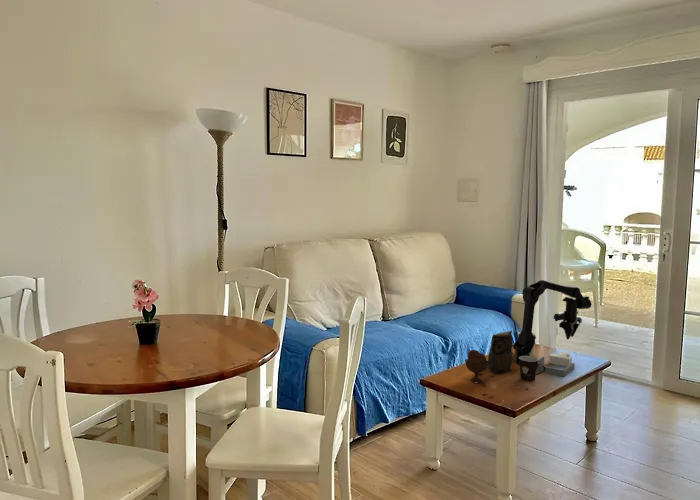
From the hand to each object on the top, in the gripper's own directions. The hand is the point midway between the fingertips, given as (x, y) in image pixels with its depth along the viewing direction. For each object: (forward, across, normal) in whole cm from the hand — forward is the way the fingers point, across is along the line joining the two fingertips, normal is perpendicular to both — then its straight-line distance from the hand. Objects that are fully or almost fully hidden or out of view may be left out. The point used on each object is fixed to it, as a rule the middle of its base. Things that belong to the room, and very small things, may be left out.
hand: (569, 338), depth 274 cm
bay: (+11, +23, 0) cm, 26 cm away
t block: (+11, +10, 0) cm, 15 cm away
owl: (+11, +42, -21) cm, 49 cm away
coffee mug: (+11, +46, -3) cm, 48 cm away
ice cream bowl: (+11, +64, -22) cm, 69 cm away
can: (+11, +8, -20) cm, 25 cm away
